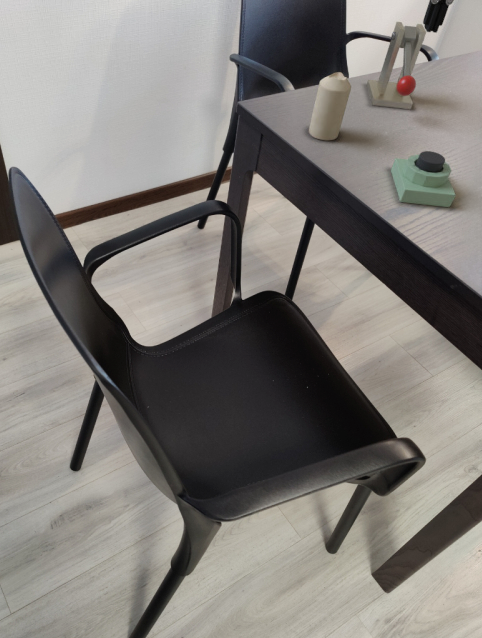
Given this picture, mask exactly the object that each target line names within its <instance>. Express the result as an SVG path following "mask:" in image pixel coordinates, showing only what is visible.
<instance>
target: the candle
mask: <svg viewBox="0 0 482 638" xmlns="http://www.w3.org/2000/svg"><path fill="white" fill-rule="evenodd" d="M351 90H352V85H351V83H350V80H349V79H348V77H345V75H344V74H343V73H342V72H340V71H338V72H333V73H332V74H330V75H327V76H326V77H323V78H322V79H321V80H319V84H318V87H317V93H316V97H315V100H314V101H315V102H314V105H313V110H312V115H311V119H310V124H309V127H308V133H309V135H310V136H311V137H313V138H315V139H317V140H321V141H333V140H335V139H336V140H337V138H338V136H339V133H340V131H341V127H342V124H343V120H344V116H345V114H346V113H345V112H346V109H347V105H348V102H349V97H350V95H351Z"/></svg>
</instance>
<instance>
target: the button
mask: <svg viewBox="0 0 482 638" xmlns="http://www.w3.org/2000/svg"><path fill="white" fill-rule="evenodd" d="M419 154H420V155H419V157H418V160H417V162H416V167H418V168H419V169H420V170H423V171H426V172H430V173H438V172H440V171H441V169H442V167H443V165H444V162H446V158H445V157H444V155H442V154H440V153H438V152H435V151H432V150H425V151H424V150H423V151H421V152H420V153H419Z"/></svg>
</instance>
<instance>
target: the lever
mask: <svg viewBox="0 0 482 638" xmlns="http://www.w3.org/2000/svg"><path fill="white" fill-rule="evenodd" d="M403 26H404V28H405V32H404V35H403V38H402V41H401V45H400V48H399V49H403V58H402V59H403V60H402V67H403V77H402V78H401V79H400V80H399V81H398V80H397V82H398V83H397V82H396V83H397V92H398V93H399V94H400V95H402V96H408V95H410V96H411V94H413V93H414V91H415V89H416V86H417V82H416V79H415V77H414V76H412V75H411V76H410V68H411V47H412V45H413V43H414V41H415V39H416V26H414V25H413V26H411V25H403Z"/></svg>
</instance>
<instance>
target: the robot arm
mask: <svg viewBox="0 0 482 638" xmlns="http://www.w3.org/2000/svg"><path fill="white" fill-rule="evenodd" d="M454 1H455V0H429V1H428V3H427V7H426V11H425V13H424V17H423V20H422V23H423V24H422V25H423V27H424V29H425V31H426V33H431V32H432V33H438V31H439V27H442V26H443V23H444V21H445V18H446V15H447V14H448V9H449V7H450V5H452V4H453V3H454Z"/></svg>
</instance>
